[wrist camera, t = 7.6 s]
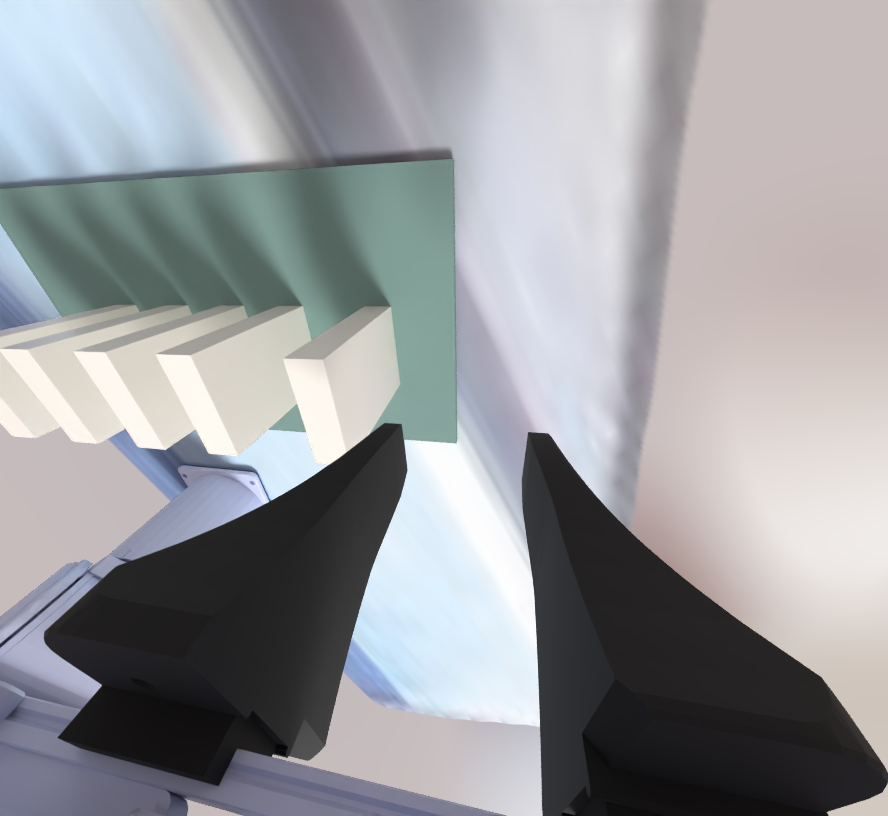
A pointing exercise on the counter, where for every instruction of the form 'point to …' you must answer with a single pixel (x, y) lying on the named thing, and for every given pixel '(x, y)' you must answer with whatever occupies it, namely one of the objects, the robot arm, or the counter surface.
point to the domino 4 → (345, 380)
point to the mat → (267, 258)
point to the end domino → (8, 394)
